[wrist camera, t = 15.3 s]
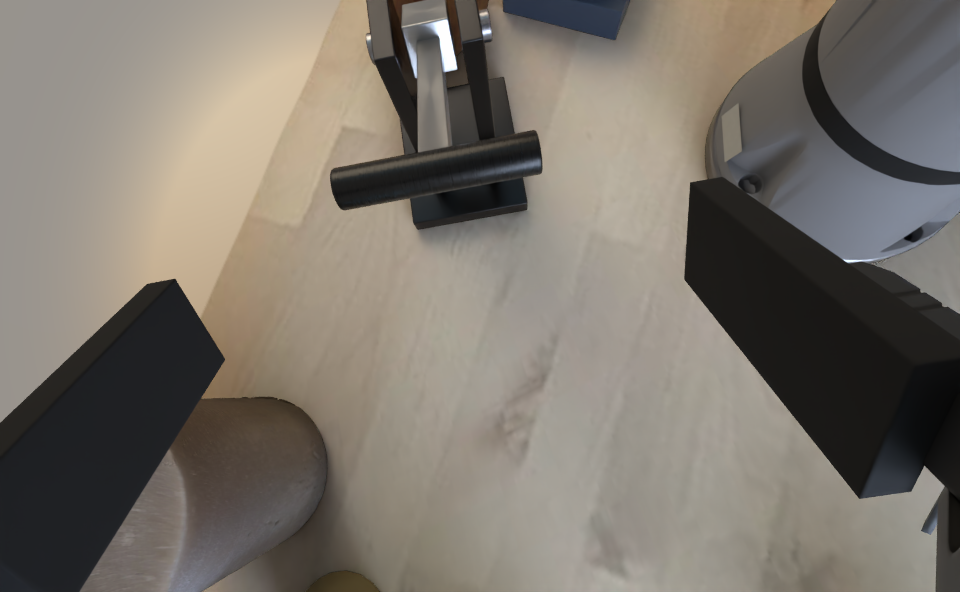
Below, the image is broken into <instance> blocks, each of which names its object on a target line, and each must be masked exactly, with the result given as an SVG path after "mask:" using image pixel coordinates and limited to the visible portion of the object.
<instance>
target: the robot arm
mask: <svg viewBox="0 0 960 592" xmlns="http://www.w3.org/2000/svg"><path fill="white" fill-rule="evenodd" d="M705 163H706V170H707V176H708V179H707V180H702V181H696V182H691V183H690V195H689V212H688V228H687V244H686V260H685V276H684V280H685V281H686V282H687V283H688V285H689V286H690V287H691V288H692V290H693V291H694V292H695V293H696V295H697V296H698V297H699V298H700V300H701V301H702V302H703V303H704V305H705V306H706V307H707V308H708V310H709V311H710V312H711V313H712V315H713V316H714V317H715V318H716V320H717V321H718V322H719V323H720V325H721V326H722V327H723V328H724V330H725V331H726V332H727V333H728V335H729V336H730V337H731V338H732V340H733V341H734V342H735V344H736V345H737V346H738V347H739V349H740V350H741V351H742V352H743V354H744V355H745V356H746V357H747V359H748V360H749V361H750V362H751V364H752V365H753V366H754V367H755V369H756V370H757V371H758V372H759V374H760V375H761V376H762V377H763V379H764V380H765V381H766V382H767V384H768V385H769V386H770V387H771V389H772V390H773V391H774V392H775V394H776V395H777V396H778V397H779V399H780V400H781V401H782V402H783V404H784V405H785V406H786V407H787V409H788V410H789V411H790V412H791V414H792V415H793V416H794V417H795V419H796V420H797V421H798V422H799V424H800V425H801V426H802V427H803V429H804V430H805V431H806V432H807V434H808V435H809V436H810V437H811V439H812V440H813V441H814V443H815V444H816V445H817V446H818V448H819V449H820V450H821V451H822V453H823V454H824V455H825V456H826V458H827V459H828V460H829V461H830V463H831V464H832V465H833V466H834V468H835V469H836V470H837V471H838V473H839V474H840V475H841V476H842V478H843V479H844V480H845V481H846V483H847V484H848V485H849V486H850V488H851V489H852V490H853V491H854V493H855V494H856V495H857V496H858V498H859V499H862V498H869V497H876V496H883V495H890V494H897V493H904V492H911V491H912V489H913V487H914V485H915V483H916V481H917V479H918V477H919V475H920V473H921V471H922V469H923V467H924V465H925V466H926V467H927V468H928V469H929V470H930V472H931V473H932V474H933V475H934V476H935V477H936V478H937V479H938V480H939V481H940V482H941V483H942V484H943V485H944V486H945V487H944V489H943V491H942V492H941V494H940V496H939V498H938V499H937V501H936V503H935V505H934V506H933V508H932V510H931V512H930V513H929V515H928V517H927V519H926V520H925V523H924V525H923V527H922V530H921V531H923V532H925V533H928V534H930V535H931V533H932V532H933V530H934V528H935V527H936V525H937V556H936V592H960V314H958V313H957V312H955V311H953V310H952V309H950V308H949V307H943V306H942V303H941V302H939V301H938V300H936V299H935V298H933V297H932V296H930V295H928V294H927V293H921V292H920V289H919V288H917V287H916V286H914V285H913V284H911V283H910V282H908V281H906V280H905V279H903V278H902V277H900V276H899V275H897V274H895V273H893V272H891V271H888V270H885V269H882V268H879V267H877V266H874V265H871V264H872V263H876V262H879V261H882V260H884V259H887V258H890V257H892V256H895V255H898V254H900V253H903V252H905V251H908V250H910V249H912V248H914V247H916V246H918V245H920V244H922V243H923V242H925V241H926V240H928V239H929V238H931V237H932V236H933V235H935V234H936V233H937V232H938V231H939V230H940V229H942V228H943V227H944V226H945V225H946V224H947V223H948V222H949V221H950V220H951V219H952V218H953V217H954V216H956V215H957V214H958V213H959V212H960V0H836V2H835V3H834V4H833V6H832V7H831V8H830V9H829V11H828V12H827V13H826V14H825V16H824V17H823V18H822V19H821V21H820V22H819V23H818V24H817V25H815V26H814V27H812V28H811V29H809V30H808V31H806V32H805V33H803V34H802V35H800V36H799V37H797V38H796V39H794V40H793V41H791V42H790V43H788V44H787V45H785V46H784V47H782V48H781V49H779V50H778V51H777V52H775V53H774V54H772V55H771V56H769V57H767V58H766V59H764V60H763V61H761V62H760V63H759V64H757V65H756V66H754V67H753V68H752V69H750V70H749V71H748V72H747V73H746V74H745V75H744V76H743V77H741V78H740V79H739V81H738V82H737V83H736V84H735V85H734V86H733V88H732V89H731V91H730V92H729V94H728V95H727V97H726V98H725V100H724V101H723V103H722V104H721V106H720V107H719V108H718V110H717V112H716V114H715V116H714V118H713V120H712V122H711V125H710V127H709V131H708V135H707V139H706V146H705ZM224 361H225V358H224V357H223V355H222V353H221V352H220V350H219V349H218V347H217V345H216V344H215V342H214V341H213V339H212V337H211V336H210V334H209V332H208V331H207V329H206V328H205V326H204V324H203V323H202V321H201V320H200V318H199V316H198V315H197V313H196V312H195V310H194V308H193V307H192V305H191V304H190V302H189V300H188V299H187V297H186V295H185V294H184V292H183V291H182V289H181V287H180V286H179V284H178V283H177V281H176V279H171V280H167V281H161V282H155V283H150V284H147V285H146V286H145V287H143V288H142V290H140V291H139V292H138V293H137V294H136V295H135V296H134V297H133V298H132V299H131V300H130V301H129V302H128V303H127V304H125V305H124V307H122V308H121V309H120V310H119V311H118V312H117V313H116V314H115V315H114V316H113V317H112V318H111V319H110V320H109V321H108V322H106V323H105V324H104V325H103V326H102V327H101V328H100V329H99V330H98V331H97V332H96V333H95V334H94V335H93V336H92V337H91V338H90V339H89V340H87V341H86V342H85V343H84V344H83V345H82V346H81V347H80V348H79V349H78V350H77V351H76V352H75V353H74V354H73V355H72V356H70V357H69V358H68V359H67V360H66V361H65V362H64V363H63V364H62V365H61V366H60V367H59V368H58V369H57V370H56V371H55V372H54V373H52V374H51V375H50V376H49V377H48V378H47V379H46V380H45V381H44V382H43V383H42V384H41V385H40V386H39V387H38V388H37V389H36V390H34V391H33V392H32V393H31V394H30V395H29V396H28V397H27V398H26V399H25V400H24V401H23V402H22V403H21V404H20V405H19V406H18V407H17V408H15V409H14V410H13V411H12V412H11V413H10V414H9V415H8V416H7V417H6V418H5V419H4V420H3V421H2V422H1V423H0V592H80V590H81V588H82V587H83V585H84V584H85V582H86V581H87V579H88V577H89V576H90V574H91V573H92V571H93V569H94V568H95V566H96V565H97V563H98V561H99V560H100V558H101V557H102V555H103V553H104V552H105V550H106V549H107V547H108V545H109V544H110V542H111V541H112V539H113V538H114V536H115V534H116V533H117V531H118V530H119V528H120V526H121V525H122V523H123V522H124V520H125V518H126V517H127V515H128V514H129V512H130V510H131V509H132V507H133V506H134V504H135V502H136V501H137V499H138V498H139V496H140V494H141V493H142V491H143V490H144V488H145V487H146V485H147V483H148V482H149V480H150V479H151V477H152V475H153V474H154V472H155V471H156V469H157V467H158V466H159V464H160V463H161V461H162V459H163V458H164V456H165V455H166V453H167V451H168V450H169V448H170V447H171V445H172V444H173V442H174V440H175V439H176V437H177V436H178V434H179V432H180V431H181V429H182V428H183V426H184V424H185V423H186V421H187V420H188V418H189V416H190V415H191V413H192V412H193V410H194V408H195V407H196V405H197V404H198V402H199V400H200V399H201V397H202V396H203V394H204V393H205V391H206V389H207V388H208V386H209V385H210V383H211V381H212V380H213V378H214V377H215V375H216V373H217V372H218V370H219V369H220V367H221V365H222V364H223V362H224Z"/></svg>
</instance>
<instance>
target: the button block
mask: <svg viewBox="0 0 960 592" xmlns="http://www.w3.org/2000/svg"><path fill="white" fill-rule="evenodd" d="M629 2H630V0H503V11H504V12H507V13H511V14H515V15H519V16H523V17H527V18H530V19H534V20H538V21H542V22H546V23H550V24H554V25H558V26H562V27H565V28H569V29H573V30H577V31H581V32H585V33H589V34H593V35H597V36H600V37H604V38H608V39H612V40H615V39H616V37H617V34H618V31H619V29H620V26H621V24H622V21H623V18H624V16H625V13H626V10H627V8H628V5H629Z"/></svg>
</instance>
